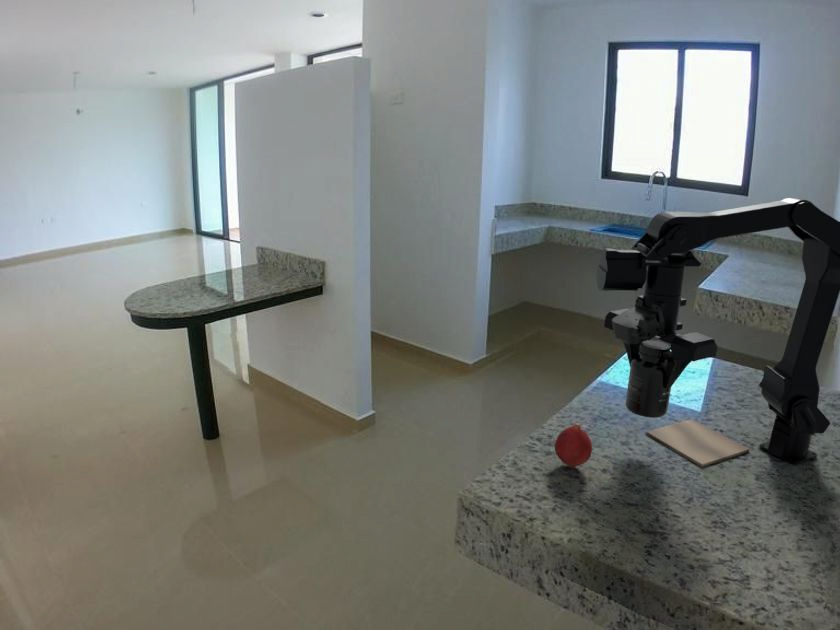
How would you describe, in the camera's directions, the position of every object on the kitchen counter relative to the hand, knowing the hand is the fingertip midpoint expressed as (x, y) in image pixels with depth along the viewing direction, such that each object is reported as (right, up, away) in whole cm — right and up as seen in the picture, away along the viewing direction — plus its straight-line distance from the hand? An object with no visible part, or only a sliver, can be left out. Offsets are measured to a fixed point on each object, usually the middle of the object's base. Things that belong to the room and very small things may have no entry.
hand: (650, 380), depth 97 cm
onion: (-14, -14, -3) cm, 20 cm away
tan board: (+10, -12, +5) cm, 16 cm away
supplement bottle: (0, -5, +2) cm, 6 cm away
